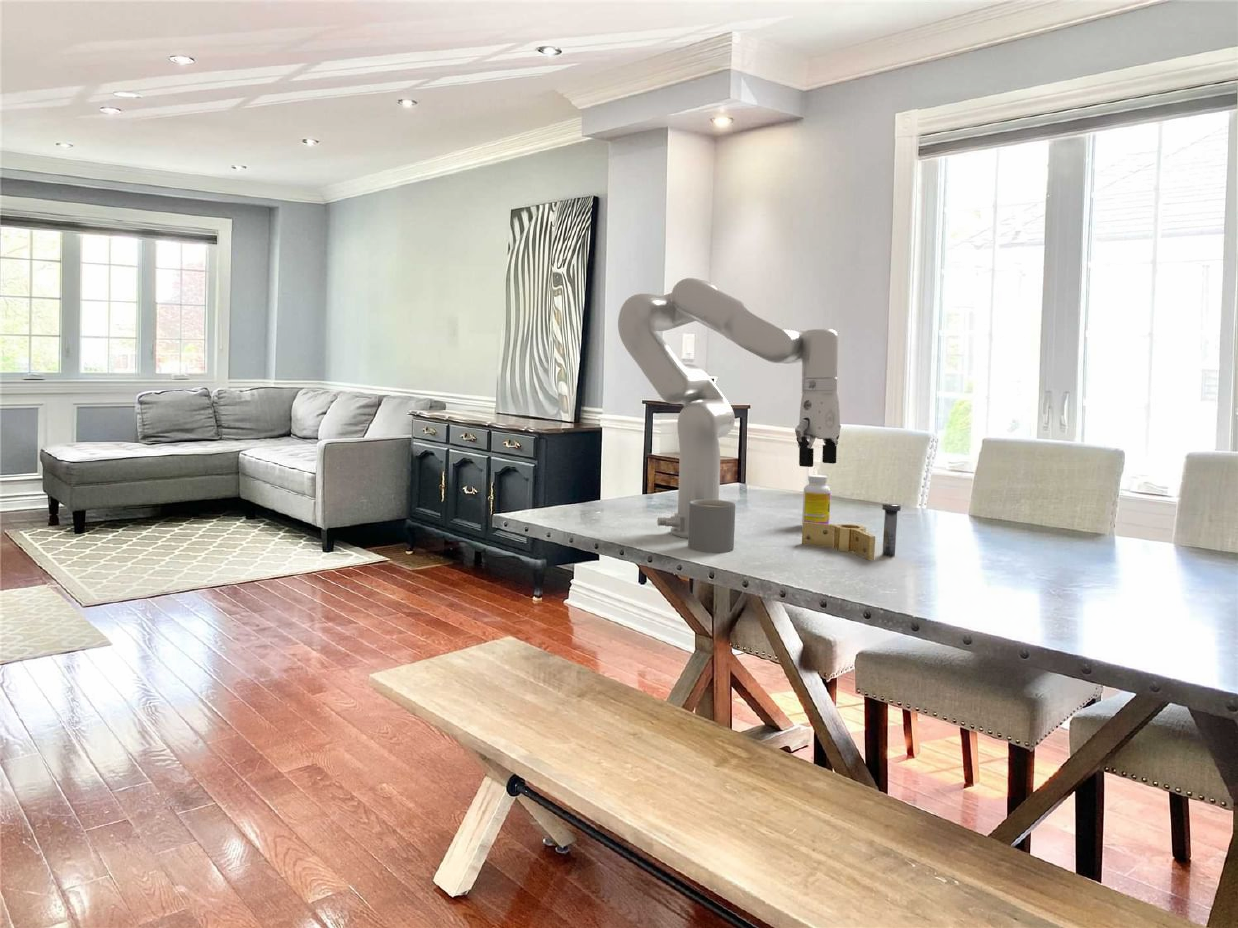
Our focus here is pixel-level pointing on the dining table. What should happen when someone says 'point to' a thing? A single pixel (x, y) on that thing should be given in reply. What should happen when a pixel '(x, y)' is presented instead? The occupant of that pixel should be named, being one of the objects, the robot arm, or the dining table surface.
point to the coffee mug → (711, 526)
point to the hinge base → (854, 540)
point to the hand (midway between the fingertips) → (817, 464)
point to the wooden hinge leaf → (818, 534)
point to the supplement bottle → (816, 500)
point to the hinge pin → (890, 528)
